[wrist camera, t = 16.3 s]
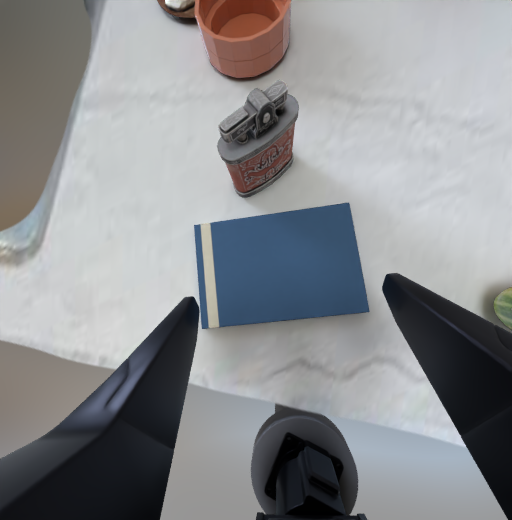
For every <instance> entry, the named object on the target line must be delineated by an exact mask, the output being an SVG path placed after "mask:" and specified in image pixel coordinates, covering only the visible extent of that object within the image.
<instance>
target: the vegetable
mask: <svg viewBox="0 0 512 520" xmlns="http://www.w3.org/2000/svg"><path fill="white" fill-rule="evenodd" d="M494 310H495V313H496V315H497V316H498V318H499V319H500V320H501V321H502V322H503V323H504V324H505V325H506V326H507V327H508V328H510V329H511V330H512V287H511V288H508V289H506V290H504V291H503V292H502V293H501V294H499V295H498V296H497V297H496V298H495V301H494Z"/></svg>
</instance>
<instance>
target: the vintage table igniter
mask: <svg viewBox="0 0 512 520" xmlns="http://www.w3.org/2000/svg"><path fill="white" fill-rule="evenodd" d="M287 89H288V88H287V85H286V83H285V82H284V81H282V80H277V81H276V82H274V83H273V84H271V85H270V86H269V87H267V88H266V89H265V90H263V91H262V90H260V89H258V88H256V89H254V90H253V91H251V92H250V94H249V95H248V97H247V101H246V102H245V105H244V106H242V107H240V108H239V109H238V110H236V111H235V112H234V113H232V114H231V115H230V116H228V117H227V118H226V119H224V120H223V121H222V122H221V123H220V124H219V126H218V129H219V131H220V134H221V138H220V139H219V141H218V145H217V147H218V152H219V154H220V156H221V158H222V160H223V161H224V162H225V163H226V166H227V168H228V170H229V173H230V175H231V177H232V180H233V185H234V188H235V191H236V192H237V194H238V195H239V196H241V197H250V196H252V195H254V194H256V193H258V192H260V191H261V190H263V189H264V188H266V187H267V186H269V185H271V184H272V183H273V182H274V181H276V180H277V179H278V178H279V177H280V176H281V175H282V174H283V173H284V172H285V171H286V170H287V169H288V168H289V167H290V166H291V164H292V160H293V153H292V146H293V137H294V127H295V121H296V120H297V118H298V110H299V105H298V102H297V100H296V99H295V98H294V97H293V96H291V95H289V94H287Z"/></svg>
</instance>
